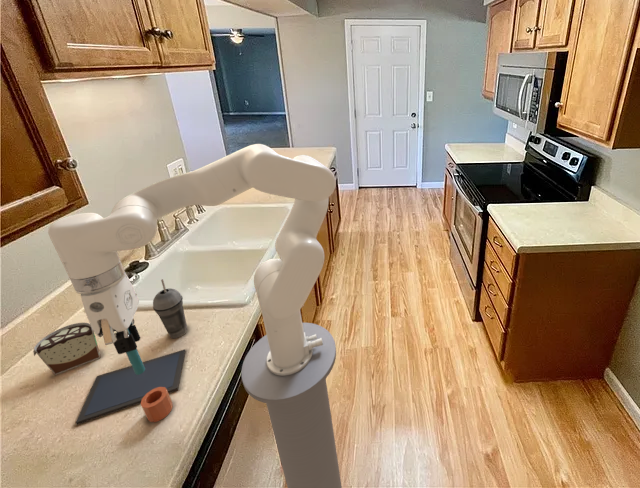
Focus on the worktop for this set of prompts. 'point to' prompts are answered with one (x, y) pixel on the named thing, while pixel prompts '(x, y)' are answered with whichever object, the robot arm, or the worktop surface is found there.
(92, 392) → the tablet
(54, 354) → the food container
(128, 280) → the robot arm
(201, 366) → the worktop surface
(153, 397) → the holder
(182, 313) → the beverage cup
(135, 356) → the stylus
